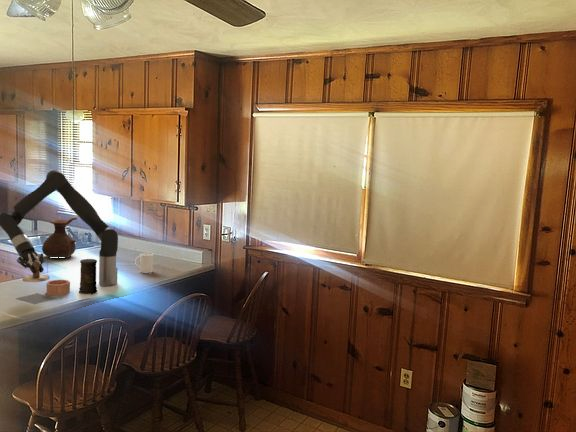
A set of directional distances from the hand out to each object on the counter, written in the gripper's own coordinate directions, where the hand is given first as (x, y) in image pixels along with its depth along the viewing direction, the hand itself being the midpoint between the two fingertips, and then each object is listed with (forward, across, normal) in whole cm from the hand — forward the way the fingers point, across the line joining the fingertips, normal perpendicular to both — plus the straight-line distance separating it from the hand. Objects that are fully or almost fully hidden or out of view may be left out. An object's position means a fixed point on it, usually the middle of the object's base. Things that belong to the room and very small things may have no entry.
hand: (38, 272), depth 233 cm
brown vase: (-43, +70, +64) cm, 105 cm away
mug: (+9, +76, +12) cm, 78 cm away
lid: (+1, 0, +4) cm, 4 cm away
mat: (+9, 0, +12) cm, 15 cm away
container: (+16, +23, +5) cm, 29 cm away
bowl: (+8, +13, +13) cm, 20 cm away
